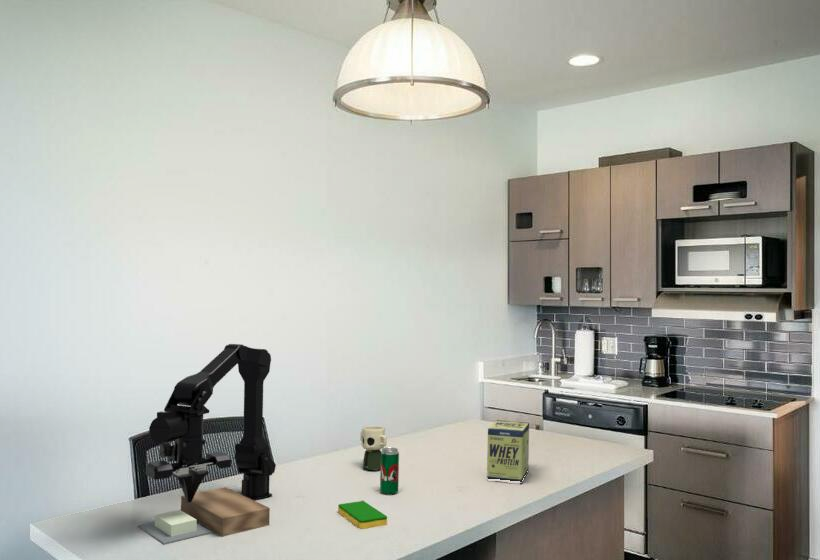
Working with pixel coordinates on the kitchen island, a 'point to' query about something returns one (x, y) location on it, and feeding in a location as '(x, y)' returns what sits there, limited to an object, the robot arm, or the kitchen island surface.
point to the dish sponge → (362, 514)
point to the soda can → (389, 470)
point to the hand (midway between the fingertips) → (188, 501)
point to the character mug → (373, 445)
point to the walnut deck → (226, 511)
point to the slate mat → (166, 539)
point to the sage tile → (175, 523)
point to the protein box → (508, 450)
